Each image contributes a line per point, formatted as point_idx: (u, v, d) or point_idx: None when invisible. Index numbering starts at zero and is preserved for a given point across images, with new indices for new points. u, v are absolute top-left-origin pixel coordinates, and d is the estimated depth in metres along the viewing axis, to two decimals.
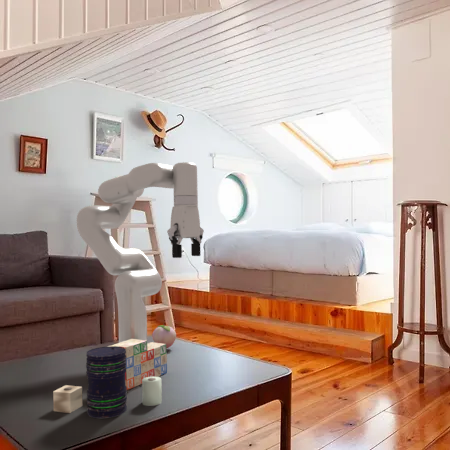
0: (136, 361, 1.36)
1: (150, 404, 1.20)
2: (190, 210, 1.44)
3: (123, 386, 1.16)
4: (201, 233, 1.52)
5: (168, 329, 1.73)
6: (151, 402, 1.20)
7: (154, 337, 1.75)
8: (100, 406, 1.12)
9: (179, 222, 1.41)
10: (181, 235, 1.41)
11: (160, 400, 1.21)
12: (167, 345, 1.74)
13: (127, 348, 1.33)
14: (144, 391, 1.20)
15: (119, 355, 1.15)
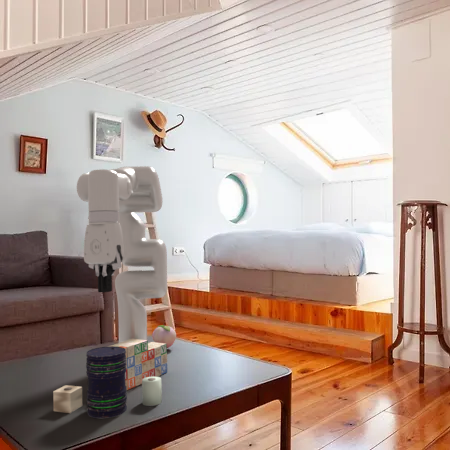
0: (137, 361, 1.36)
1: (150, 404, 1.20)
2: None
3: (123, 386, 1.16)
4: None
5: (168, 329, 1.73)
6: (151, 402, 1.20)
7: (154, 337, 1.75)
8: (100, 406, 1.12)
9: (121, 244, 1.16)
10: (122, 259, 1.16)
11: (160, 400, 1.21)
12: (167, 345, 1.74)
13: (128, 348, 1.33)
14: (144, 391, 1.20)
15: (119, 355, 1.15)
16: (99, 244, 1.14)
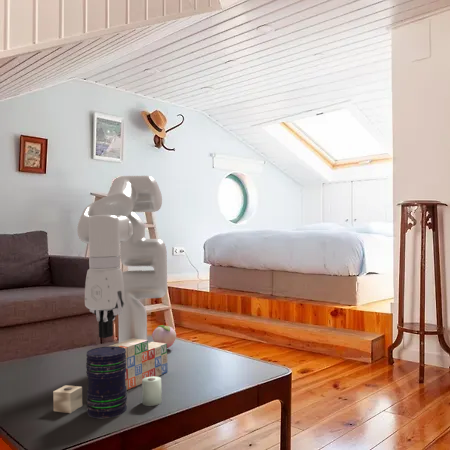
0: (137, 360, 1.36)
1: (150, 404, 1.20)
2: None
3: (123, 386, 1.16)
4: None
5: (168, 329, 1.73)
6: (151, 402, 1.20)
7: (154, 337, 1.75)
8: (100, 406, 1.12)
9: (122, 290, 1.16)
10: (123, 305, 1.16)
11: (160, 400, 1.21)
12: (167, 345, 1.74)
13: (128, 347, 1.33)
14: (144, 391, 1.20)
15: (119, 355, 1.15)
16: (100, 290, 1.14)
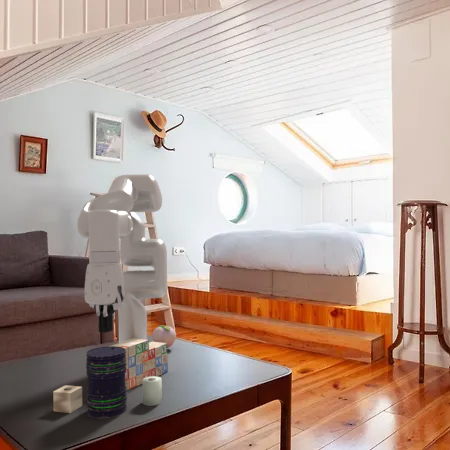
0: (138, 360, 1.37)
1: (150, 404, 1.20)
2: None
3: (123, 386, 1.16)
4: None
5: (168, 329, 1.73)
6: (151, 402, 1.20)
7: (154, 337, 1.75)
8: (100, 406, 1.12)
9: (122, 284, 1.16)
10: (123, 299, 1.16)
11: (160, 400, 1.21)
12: (167, 345, 1.74)
13: (129, 347, 1.33)
14: (144, 391, 1.20)
15: (119, 355, 1.15)
16: (100, 285, 1.14)
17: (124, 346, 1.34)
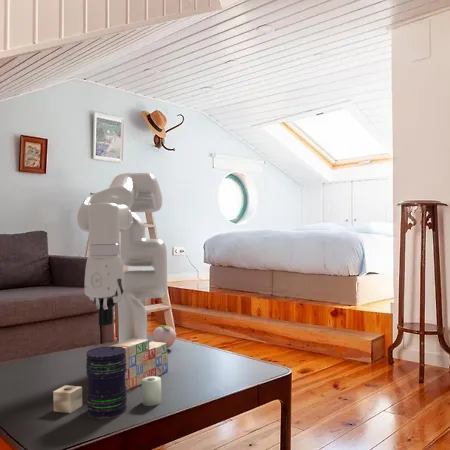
0: (139, 360, 1.37)
1: (150, 404, 1.20)
2: None
3: (123, 386, 1.16)
4: None
5: (168, 329, 1.73)
6: (151, 402, 1.20)
7: (154, 337, 1.75)
8: (100, 406, 1.12)
9: (122, 277, 1.16)
10: (123, 293, 1.16)
11: (160, 400, 1.21)
12: (167, 345, 1.74)
13: (130, 347, 1.34)
14: (144, 391, 1.20)
15: (119, 355, 1.15)
16: (100, 278, 1.14)
17: (124, 346, 1.34)
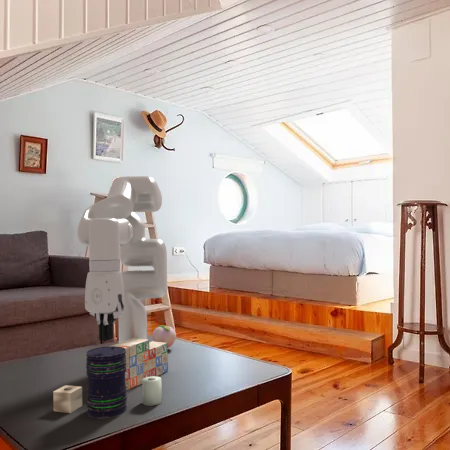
0: (139, 360, 1.37)
1: (151, 404, 1.20)
2: None
3: (123, 386, 1.16)
4: None
5: (168, 329, 1.73)
6: (152, 401, 1.20)
7: (154, 337, 1.75)
8: (100, 406, 1.12)
9: (122, 293, 1.16)
10: (123, 308, 1.16)
11: (160, 399, 1.22)
12: (167, 345, 1.74)
13: (130, 347, 1.34)
14: (144, 391, 1.20)
15: (119, 355, 1.15)
16: (100, 293, 1.14)
17: (125, 346, 1.34)
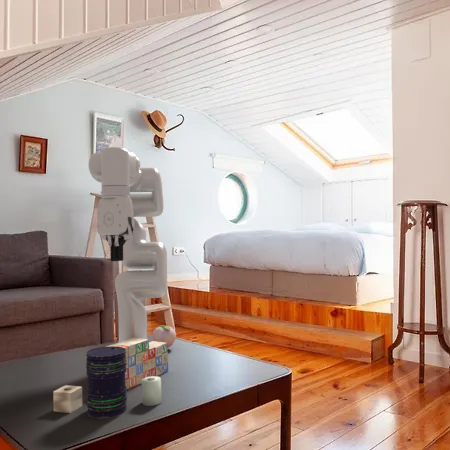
0: (138, 360, 1.37)
1: (151, 404, 1.20)
2: None
3: (123, 386, 1.16)
4: None
5: (168, 329, 1.73)
6: (152, 402, 1.20)
7: (154, 337, 1.75)
8: (100, 406, 1.12)
9: (132, 216, 1.25)
10: (133, 231, 1.25)
11: (160, 399, 1.22)
12: (167, 345, 1.74)
13: (129, 347, 1.34)
14: (144, 391, 1.20)
15: (119, 355, 1.15)
16: (111, 216, 1.23)
17: (124, 345, 1.34)
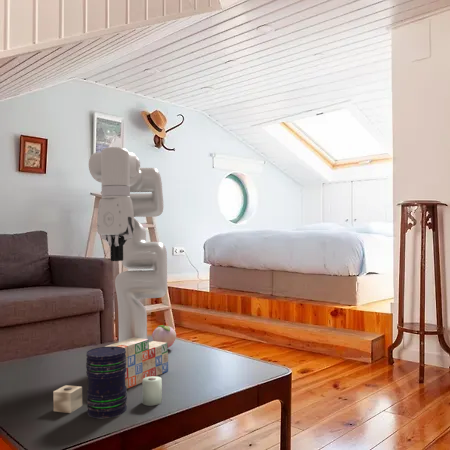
0: (138, 359, 1.37)
1: (151, 404, 1.20)
2: None
3: (123, 386, 1.16)
4: None
5: (168, 329, 1.73)
6: (152, 401, 1.20)
7: (154, 337, 1.75)
8: (100, 406, 1.12)
9: (132, 216, 1.25)
10: (133, 231, 1.25)
11: (160, 399, 1.22)
12: (167, 345, 1.74)
13: (129, 347, 1.34)
14: (145, 391, 1.20)
15: (119, 355, 1.15)
16: (112, 216, 1.23)
17: (123, 345, 1.35)
